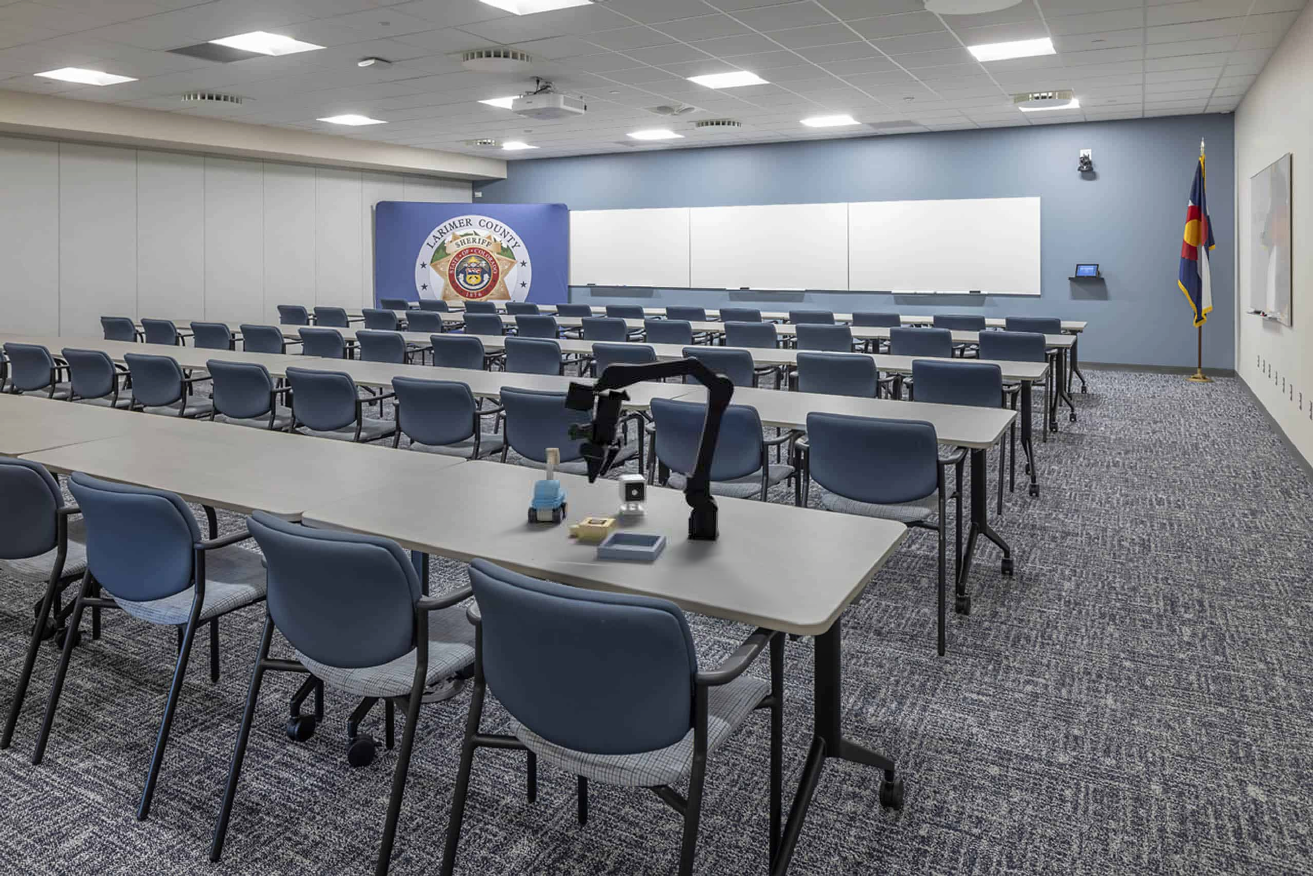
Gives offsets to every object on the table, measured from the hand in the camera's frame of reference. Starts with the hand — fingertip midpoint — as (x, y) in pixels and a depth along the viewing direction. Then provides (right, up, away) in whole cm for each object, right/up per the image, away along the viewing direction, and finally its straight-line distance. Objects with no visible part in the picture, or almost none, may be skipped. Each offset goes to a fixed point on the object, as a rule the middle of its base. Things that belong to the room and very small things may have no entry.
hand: (596, 479), depth 222 cm
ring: (-1, -14, +2) cm, 14 cm away
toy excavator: (-13, -11, +20) cm, 26 cm away
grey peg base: (0, -14, +2) cm, 14 cm away
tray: (+9, -16, -9) cm, 21 cm away
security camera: (+8, -10, +23) cm, 27 cm away
